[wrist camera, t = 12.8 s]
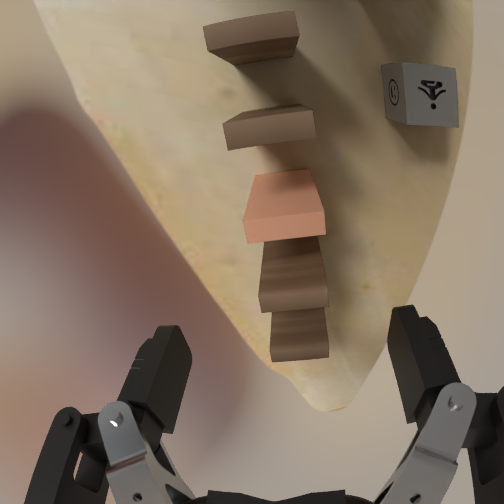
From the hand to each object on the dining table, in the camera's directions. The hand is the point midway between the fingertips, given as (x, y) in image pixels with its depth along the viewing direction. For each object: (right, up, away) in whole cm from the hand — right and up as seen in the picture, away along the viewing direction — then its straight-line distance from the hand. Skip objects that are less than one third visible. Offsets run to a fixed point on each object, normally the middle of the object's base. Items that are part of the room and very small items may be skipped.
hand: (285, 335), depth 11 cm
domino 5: (+4, -1, +22) cm, 23 cm away
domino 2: (+1, +15, +13) cm, 20 cm away
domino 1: (0, +20, +10) cm, 23 cm away
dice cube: (+13, +18, +11) cm, 24 cm away
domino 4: (+3, +5, +19) cm, 20 cm away
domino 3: (+2, +10, +16) cm, 19 cm away
